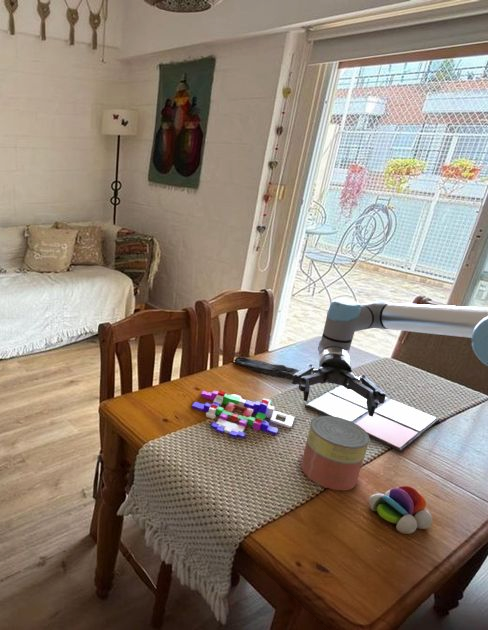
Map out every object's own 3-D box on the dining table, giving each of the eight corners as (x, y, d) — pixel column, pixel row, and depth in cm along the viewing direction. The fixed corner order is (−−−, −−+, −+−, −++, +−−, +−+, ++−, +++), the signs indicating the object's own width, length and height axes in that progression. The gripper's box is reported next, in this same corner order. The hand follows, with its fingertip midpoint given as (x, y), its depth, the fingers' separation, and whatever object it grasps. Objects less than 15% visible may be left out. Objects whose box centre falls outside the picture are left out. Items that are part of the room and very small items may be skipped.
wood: (228, 367, 148) (229, 359, 147) (234, 358, 154) (235, 351, 153) (300, 386, 137) (302, 378, 136) (304, 376, 142) (305, 368, 141)
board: (438, 421, 120) (439, 418, 119) (399, 453, 107) (401, 449, 107) (346, 384, 138) (347, 380, 138) (304, 407, 126) (305, 404, 125)
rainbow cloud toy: (436, 529, 86) (448, 500, 83) (398, 541, 84) (409, 512, 81) (395, 498, 94) (404, 470, 91) (359, 508, 91) (368, 480, 88)
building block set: (182, 420, 120) (184, 406, 118) (206, 388, 135) (208, 375, 134) (281, 455, 106) (284, 440, 105) (295, 415, 122) (298, 401, 121)
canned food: (360, 472, 101) (373, 428, 97) (351, 500, 93) (365, 454, 89) (307, 451, 108) (317, 409, 103) (294, 475, 100) (304, 432, 96)
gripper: (384, 388, 117) (397, 431, 100) (282, 367, 128) (278, 403, 110) (392, 363, 115) (407, 403, 97) (287, 344, 125) (283, 377, 108)
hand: (338, 403), depth 104 cm, fingers open, 13 cm apart
